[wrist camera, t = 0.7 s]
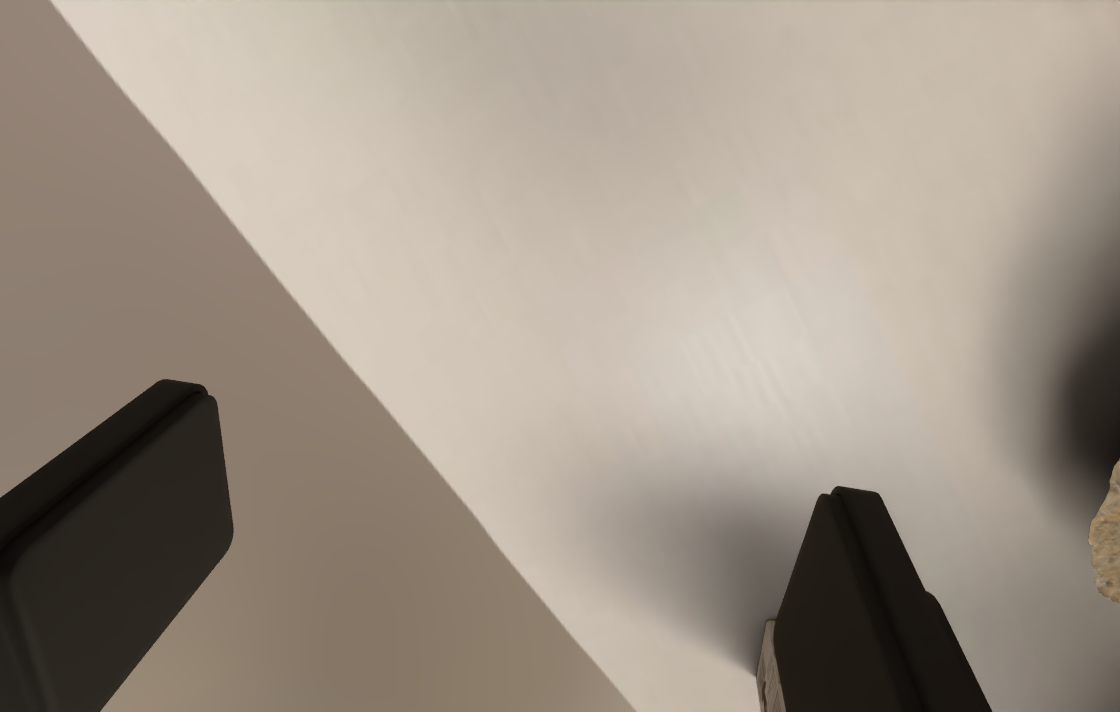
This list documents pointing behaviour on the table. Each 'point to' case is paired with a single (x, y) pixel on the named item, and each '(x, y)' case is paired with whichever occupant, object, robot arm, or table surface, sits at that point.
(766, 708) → the coffee box
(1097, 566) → the stone bowl
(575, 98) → the table surface
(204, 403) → the robot arm
